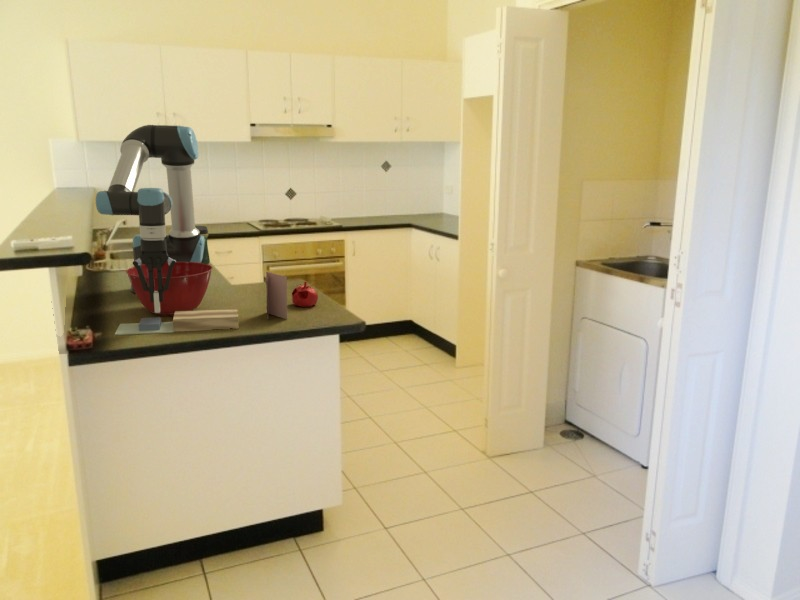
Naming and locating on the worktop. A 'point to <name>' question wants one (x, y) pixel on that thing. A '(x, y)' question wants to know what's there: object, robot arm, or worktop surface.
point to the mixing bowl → (174, 286)
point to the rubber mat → (134, 329)
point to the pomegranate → (304, 296)
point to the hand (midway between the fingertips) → (157, 311)
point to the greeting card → (276, 295)
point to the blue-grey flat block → (150, 324)
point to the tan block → (205, 320)
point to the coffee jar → (204, 233)
